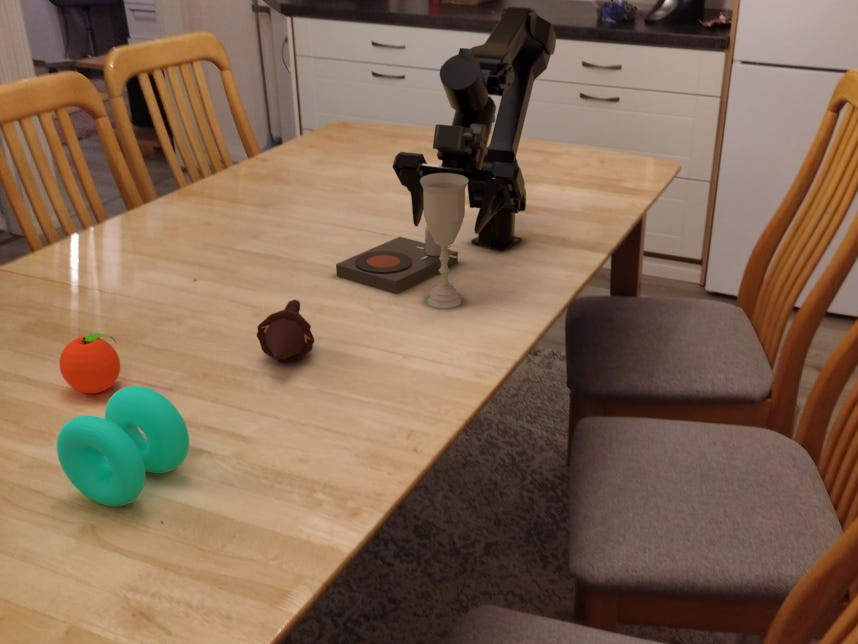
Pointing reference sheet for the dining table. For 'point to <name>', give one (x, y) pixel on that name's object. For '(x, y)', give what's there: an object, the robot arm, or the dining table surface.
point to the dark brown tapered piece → (286, 334)
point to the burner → (383, 262)
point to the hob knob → (431, 244)
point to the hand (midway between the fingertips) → (445, 228)
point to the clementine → (90, 364)
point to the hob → (400, 280)
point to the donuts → (123, 445)
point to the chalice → (444, 226)
